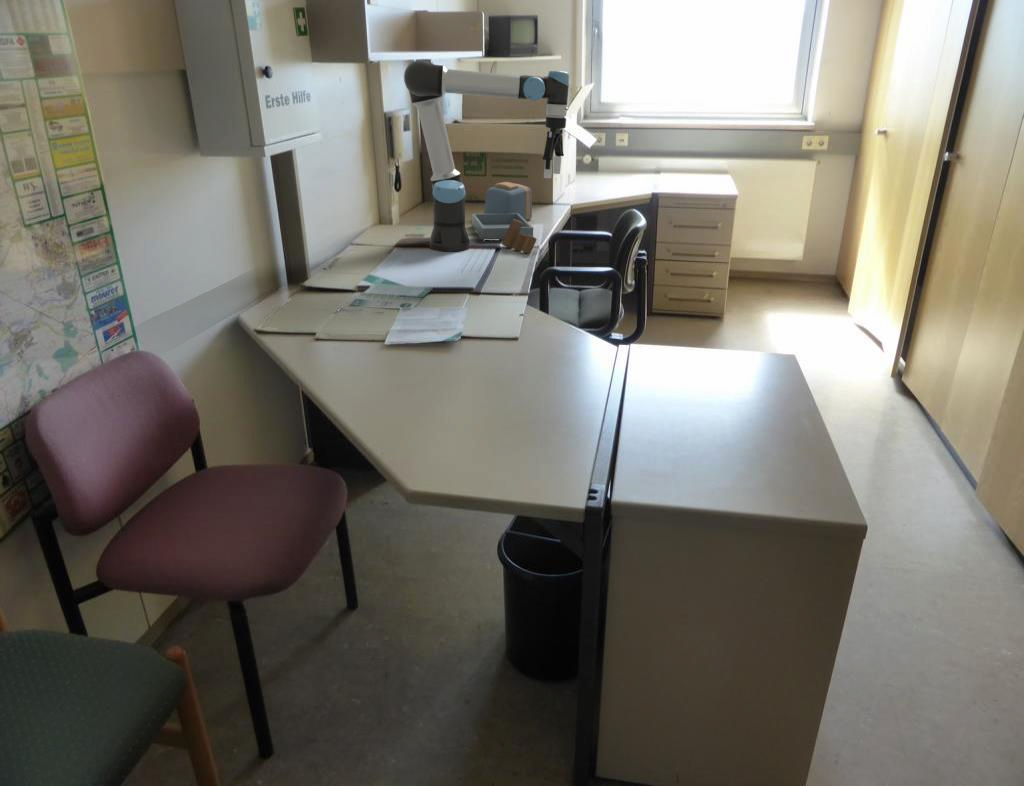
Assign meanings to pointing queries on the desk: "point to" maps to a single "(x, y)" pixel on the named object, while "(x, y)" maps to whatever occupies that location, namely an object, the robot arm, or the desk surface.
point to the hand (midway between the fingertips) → (552, 176)
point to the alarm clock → (509, 200)
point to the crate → (498, 225)
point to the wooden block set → (518, 238)
